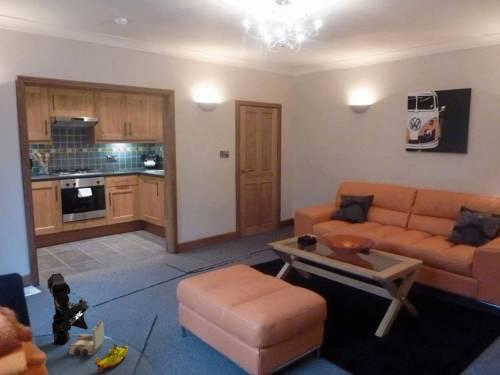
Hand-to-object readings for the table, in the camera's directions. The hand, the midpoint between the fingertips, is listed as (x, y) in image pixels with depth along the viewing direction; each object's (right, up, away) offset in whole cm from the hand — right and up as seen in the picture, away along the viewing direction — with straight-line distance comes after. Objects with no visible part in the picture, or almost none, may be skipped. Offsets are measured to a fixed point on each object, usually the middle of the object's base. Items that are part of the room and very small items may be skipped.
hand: (87, 328), depth 198 cm
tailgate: (+6, -8, +1) cm, 10 cm away
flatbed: (-1, -11, +2) cm, 11 cm away
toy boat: (+17, -13, -11) cm, 24 cm away
